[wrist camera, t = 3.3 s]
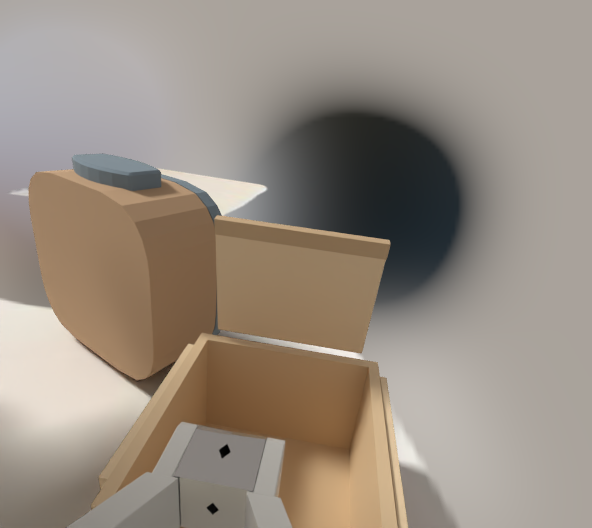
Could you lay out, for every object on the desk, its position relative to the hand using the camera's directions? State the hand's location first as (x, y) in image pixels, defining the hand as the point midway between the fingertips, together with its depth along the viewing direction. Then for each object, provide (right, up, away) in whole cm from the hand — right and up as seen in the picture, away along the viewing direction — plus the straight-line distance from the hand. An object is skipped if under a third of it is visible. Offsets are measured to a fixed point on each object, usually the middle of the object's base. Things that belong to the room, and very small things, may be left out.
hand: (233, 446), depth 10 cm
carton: (-1, -14, +18) cm, 23 cm away
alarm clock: (-18, -5, +35) cm, 39 cm away
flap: (+1, -1, +20) cm, 21 cm away
